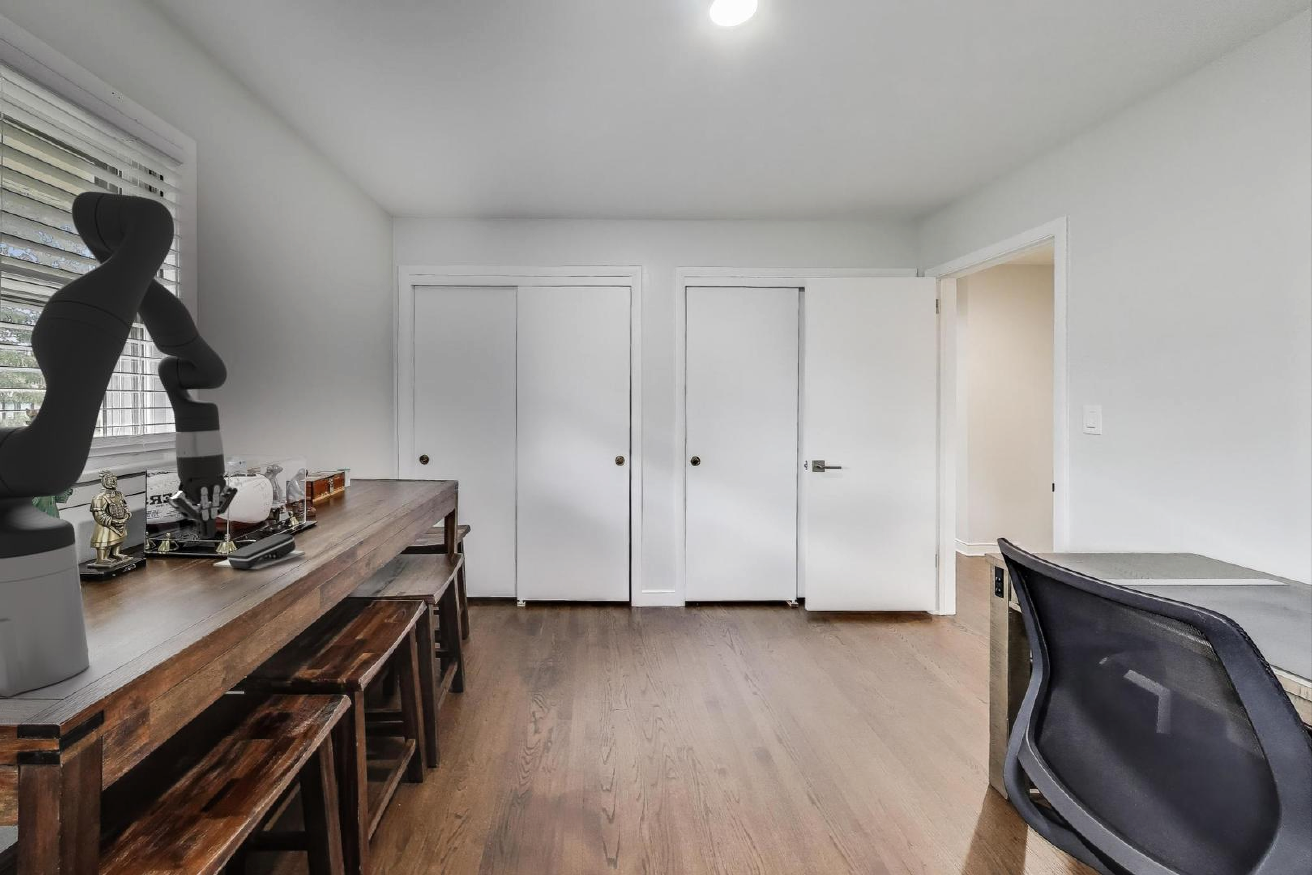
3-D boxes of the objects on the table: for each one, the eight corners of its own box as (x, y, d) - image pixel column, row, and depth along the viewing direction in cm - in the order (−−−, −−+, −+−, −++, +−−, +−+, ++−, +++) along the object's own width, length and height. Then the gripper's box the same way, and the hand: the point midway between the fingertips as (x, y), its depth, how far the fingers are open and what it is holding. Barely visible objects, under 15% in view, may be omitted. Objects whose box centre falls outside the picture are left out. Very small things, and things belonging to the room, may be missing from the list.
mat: (256, 569, 120) (256, 567, 120) (213, 566, 124) (213, 563, 123) (305, 553, 132) (304, 551, 132) (264, 550, 135) (264, 548, 135)
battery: (250, 573, 119) (301, 549, 130) (245, 556, 119) (296, 534, 129) (229, 571, 122) (280, 548, 132) (224, 554, 121) (276, 533, 131)
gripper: (178, 457, 108) (187, 547, 109) (245, 450, 120) (252, 530, 122) (150, 457, 110) (158, 545, 111) (218, 450, 122) (225, 529, 124)
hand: (207, 537), depth 116 cm, fingers closed
